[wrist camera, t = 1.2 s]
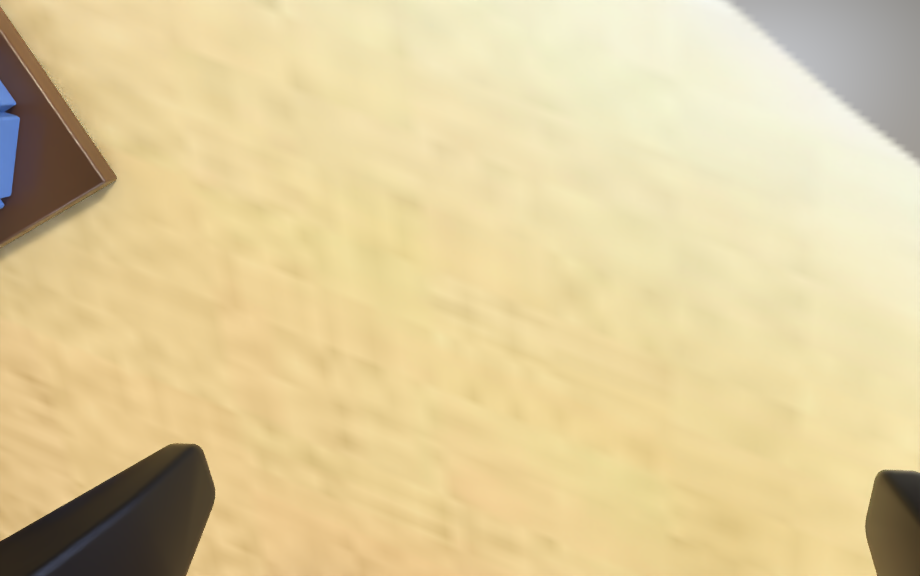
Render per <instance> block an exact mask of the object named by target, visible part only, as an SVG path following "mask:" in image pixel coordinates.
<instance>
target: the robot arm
mask: <svg viewBox="0 0 920 576" xmlns="http://www.w3.org/2000/svg"><path fill="white" fill-rule="evenodd" d="M214 500H215V487H214V483H213V480H212V477H211V474H210V470H209V467H208V464H207V461H206V458H205V455H204V452H203V450H202V449H201V447H200V446H198V445H196V444H178V443H176V444H170V445H168V446H166V447H164V448H162V449H161V450H159V451H157V452H155V453H154V454H152V455H150V456H149V457H147V458H145V459H143V460H142V461H140V462H138V463H136V464H135V465H133V466H131V467H129V468H128V469H126V470H124V471H122V472H121V473H119V474H117V475H115V476H114V477H112V478H110V479H108V480H107V481H105V482H103V483H101V484H100V485H98V486H96V487H94V488H93V489H91V490H89V491H88V492H86V493H84V494H82V495H81V496H79V497H77V498H75V499H74V500H72V501H70V502H68V503H67V504H65V505H63V506H61V507H60V508H58V509H56V510H54V511H53V512H51V513H49V514H47V515H46V516H44V517H42V518H40V519H39V520H37V521H35V522H34V523H32V524H30V525H28V526H27V527H25V528H23V529H21V530H20V531H18V532H16V533H14V534H13V535H11V536H9V537H7V538H6V539H4V540H2V541H0V576H186V574H187V572H188V569H189V566H190V564H191V561H192V559H193V556H194V554H195V551H196V548H197V546H198V543H199V541H200V538H201V535H202V533H203V530H204V528H205V525H206V523H207V520H208V517H209V515H210V512H211V510H212V507H213V504H214ZM865 529H866V537H867V541H868V545H869V548H870V552H871V555H872V559H873V562H874V566H875V569H876V573H877V576H920V473H918V472H915V471H903V470H883V471H881V472H879V473H878V474H877V476H876V478H875V481H874V485H873V490H872V494H871V499H870V503H869V507H868V512H867V516H866V523H865Z"/></svg>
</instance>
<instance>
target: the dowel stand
mask: <svg viewBox="0 0 920 576" xmlns="http://www.w3.org/2000/svg"><path fill="white" fill-rule="evenodd" d="M0 80H1V82H2V83H3V85H4V86H5V88H6V89H7V90H8V92H9V93H10V95H11V96H12V98H13V99H14V100H15V102H16V105H15V106H13V107H11V108H10V109H8V110H7V111H5V112H6V113H10V114H13V115H17V116H18V117H19V118H20V122H19V131H18V140H17V149H16V158H15V167H14V175H13V184H12V193H11V195H10V196H8V197H5V198H1V200H2V202H3V203H4V207H3V208H1V209H0V248H2V247H3V246H5V245H7V244H8V243H10V242H12V241H14V240H15V239H17V238H19V237H20V236H22V235H24V234H25V233H27V232H29V231H31V230H32V229H34V228H36V227H37V226H39V225H41V224H42V223H44V222H46V221H47V220H49V219H51V218H53V217H54V216H56V215H58V214H59V213H61V212H63V211H64V210H66V209H68V208H70V207H71V206H73V205H75V204H76V203H78V202H80V201H81V200H83V199H85V198H87V197H88V196H90V195H92V194H93V193H95V192H97V191H98V190H100V189H102V188H104V187H105V186H107V185H109V184H110V183H112V182H114V181H115V180H116V179H117V177H116V175H115V174H114V172H113V171H112V169H111V168H110V167H109V165H108V164H107V162H106V161H105V159H104V158H103V156H102V155H101V153H100V152H99V150H98V149H97V147H96V146H95V145H94V143H93V142H92V140H91V139H90V137H89V136H88V134H87V133H86V131H85V130H84V128H83V127H82V126H81V124H80V123H79V121H78V120H77V118H76V117H75V115H74V114H73V112H72V111H71V109H70V108H69V106H68V105H67V104H66V102H65V101H64V99H63V98H62V96H61V95H60V93H59V92H58V90H57V89H56V87H55V86H54V84H53V83H52V82H51V80H50V79H49V77H48V76H47V74H46V73H45V71H44V70H43V68H42V67H41V65H40V64H39V62H38V61H37V60H36V58H35V57H34V55H33V54H32V52H31V51H30V49H29V48H28V46H27V45H26V43H25V42H24V41H23V39H22V38H21V36H20V35H19V33H18V32H17V30H16V29H15V27H14V26H13V24H12V23H11V21H10V20H9V19H8V17H7V16H6V14H5V13H4V11H3V10H2V8H1V7H0Z"/></svg>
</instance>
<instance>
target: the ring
mask: <svg viewBox="0 0 920 576" xmlns="http://www.w3.org/2000/svg"><path fill="white" fill-rule="evenodd" d="M15 105H16V102H15V100H14V99H13V98H12V96H11V95H10V93H9V92H8V90H7V89H6V88H5V86H4V85H3V83H2V82H1V80H0V209H1V208H3V207H4V203H3V202H2V200H1V198H5V197H8V196H10V195H11V193H12V184H13V175H14V167H15V158H16V149H17V140H18V131H19V122H20V118H19V117H18V116H17V115H13V114H10V113H6V112H5V111H7V110H8V109H10V108H11V107H13V106H15Z"/></svg>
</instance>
